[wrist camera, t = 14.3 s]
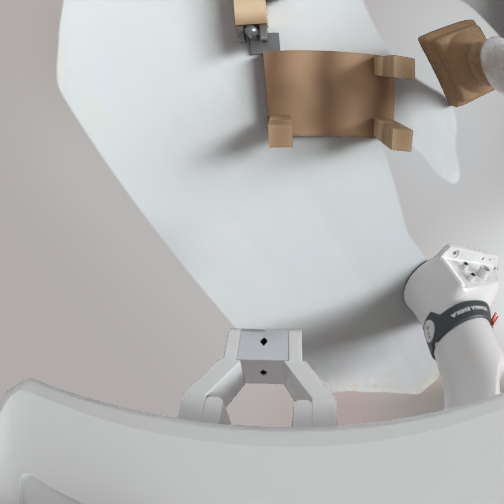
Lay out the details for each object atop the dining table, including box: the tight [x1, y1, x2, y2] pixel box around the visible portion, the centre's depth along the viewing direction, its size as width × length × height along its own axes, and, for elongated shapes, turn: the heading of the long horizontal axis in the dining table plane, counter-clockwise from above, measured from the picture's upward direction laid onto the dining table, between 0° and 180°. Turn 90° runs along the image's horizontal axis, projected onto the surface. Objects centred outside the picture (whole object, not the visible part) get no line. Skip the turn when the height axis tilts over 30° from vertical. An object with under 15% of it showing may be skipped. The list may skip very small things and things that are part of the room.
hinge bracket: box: [244, 25, 280, 54], centre depth 28 cm, size 4×3×5 cm
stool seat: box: [263, 50, 415, 151], centre depth 29 cm, size 16×11×9 cm
